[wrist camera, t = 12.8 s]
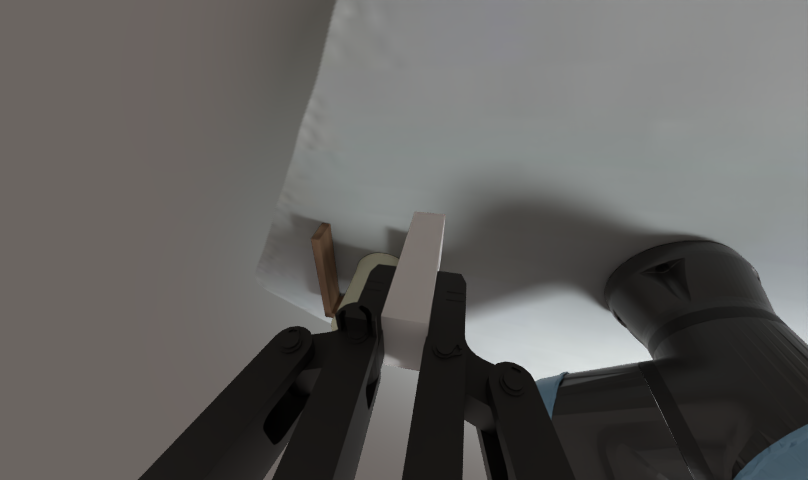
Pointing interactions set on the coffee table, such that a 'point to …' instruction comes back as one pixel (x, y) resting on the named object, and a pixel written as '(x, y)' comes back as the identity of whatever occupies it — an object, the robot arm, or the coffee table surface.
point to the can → (363, 278)
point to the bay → (326, 269)
